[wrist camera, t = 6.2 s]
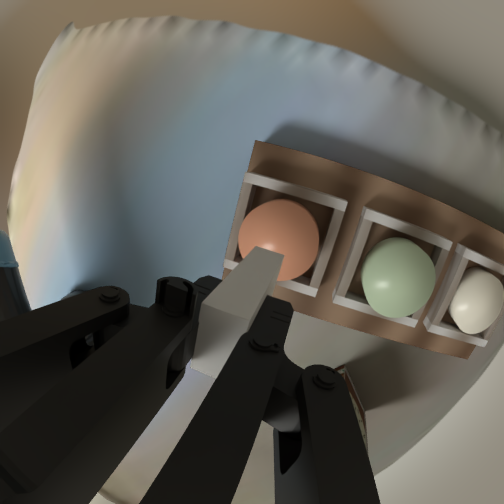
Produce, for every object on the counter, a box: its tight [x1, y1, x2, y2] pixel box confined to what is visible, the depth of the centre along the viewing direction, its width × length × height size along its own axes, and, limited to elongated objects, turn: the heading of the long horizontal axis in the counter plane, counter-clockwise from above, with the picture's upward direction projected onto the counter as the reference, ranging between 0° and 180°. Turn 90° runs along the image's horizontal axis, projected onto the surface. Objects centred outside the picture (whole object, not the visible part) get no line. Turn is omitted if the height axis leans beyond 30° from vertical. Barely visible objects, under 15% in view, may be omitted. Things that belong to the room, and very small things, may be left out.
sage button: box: [361, 237, 436, 318], centre depth 21 cm, size 6×6×2 cm
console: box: [222, 140, 504, 359], centre depth 24 cm, size 29×14×5 cm, turn 76°
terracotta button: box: [238, 199, 319, 281], centre depth 22 cm, size 6×6×2 cm
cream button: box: [448, 267, 504, 334], centre depth 20 cm, size 6×6×2 cm
